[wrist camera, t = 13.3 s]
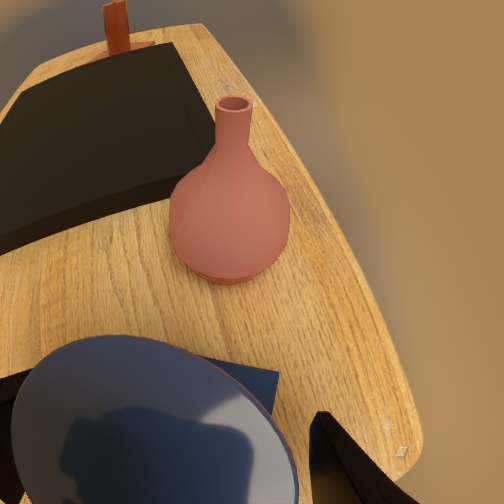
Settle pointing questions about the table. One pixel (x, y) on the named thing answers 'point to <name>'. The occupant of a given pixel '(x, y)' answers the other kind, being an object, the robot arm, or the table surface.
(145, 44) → the terracotta tile
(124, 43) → the terracotta candle
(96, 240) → the table surface
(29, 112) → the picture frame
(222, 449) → the blue cylinder
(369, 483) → the robot arm
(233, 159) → the terracotta bud vase
